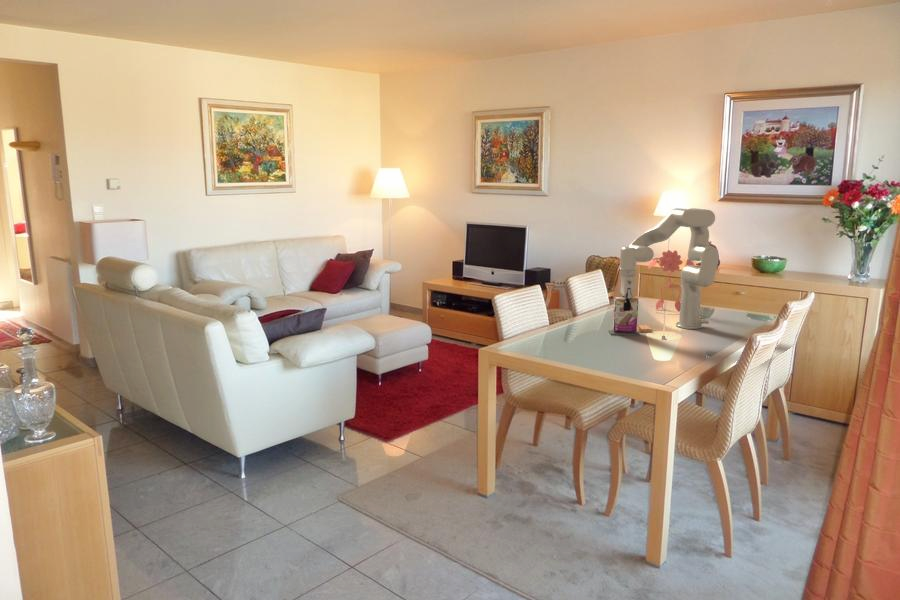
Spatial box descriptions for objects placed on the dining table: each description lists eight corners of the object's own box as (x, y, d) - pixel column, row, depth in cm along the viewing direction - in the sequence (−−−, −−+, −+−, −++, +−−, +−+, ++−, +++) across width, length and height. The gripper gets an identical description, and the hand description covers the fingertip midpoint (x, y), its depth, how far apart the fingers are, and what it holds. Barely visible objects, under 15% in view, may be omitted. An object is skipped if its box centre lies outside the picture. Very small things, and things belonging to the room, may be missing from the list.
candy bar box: (613, 331, 322) (615, 298, 319) (612, 329, 327) (613, 296, 323) (637, 332, 321) (638, 299, 317) (635, 329, 326) (637, 297, 322)
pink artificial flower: (648, 306, 386) (651, 247, 378) (693, 311, 372) (698, 250, 364) (639, 311, 373) (643, 250, 365) (686, 317, 359) (691, 254, 351)
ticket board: (647, 328, 334) (647, 324, 334) (651, 332, 327) (651, 328, 326) (635, 328, 335) (635, 324, 334) (639, 331, 327) (639, 328, 327)
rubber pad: (636, 331, 327) (637, 330, 327) (640, 335, 320) (640, 334, 320) (608, 331, 328) (608, 330, 328) (610, 335, 321) (611, 333, 321)
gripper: (639, 275, 309) (637, 313, 313) (631, 269, 326) (629, 305, 330) (623, 275, 310) (621, 313, 313) (616, 269, 326) (614, 305, 330)
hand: (625, 308), depth 322 cm, fingers closed on candy bar box, 5 cm apart
